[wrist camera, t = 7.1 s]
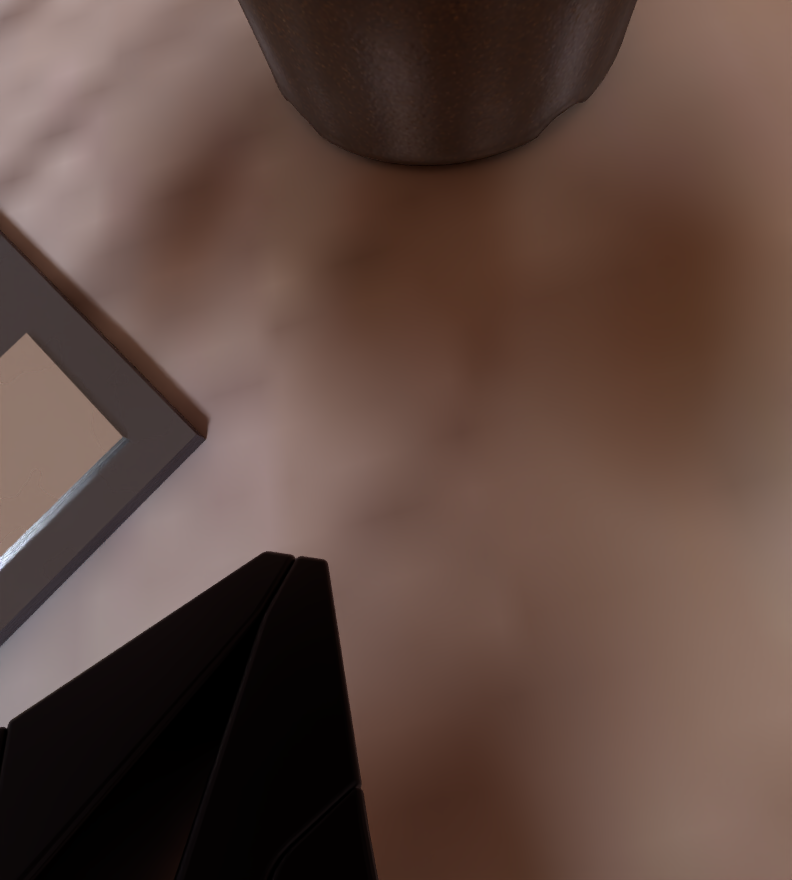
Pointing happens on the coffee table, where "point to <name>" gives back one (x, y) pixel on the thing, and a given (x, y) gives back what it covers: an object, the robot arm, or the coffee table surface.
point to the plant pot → (436, 69)
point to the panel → (68, 438)
